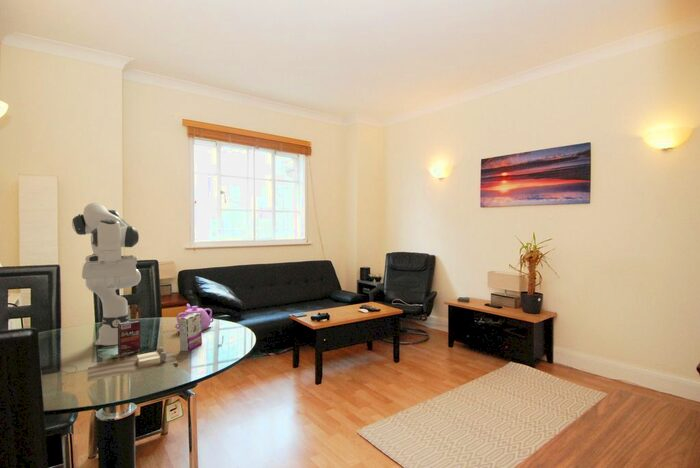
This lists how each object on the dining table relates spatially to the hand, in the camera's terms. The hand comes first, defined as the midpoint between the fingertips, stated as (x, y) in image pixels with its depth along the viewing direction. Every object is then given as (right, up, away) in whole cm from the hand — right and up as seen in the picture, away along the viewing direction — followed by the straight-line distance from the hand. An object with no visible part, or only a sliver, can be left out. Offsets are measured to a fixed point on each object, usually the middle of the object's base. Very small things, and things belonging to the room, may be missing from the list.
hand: (110, 287), depth 161 cm
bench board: (+13, -35, -4) cm, 37 cm away
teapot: (+13, -33, +56) cm, 66 cm away
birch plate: (+18, -33, -1) cm, 37 cm away
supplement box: (+1, -35, +12) cm, 37 cm away
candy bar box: (+27, -34, +21) cm, 48 cm away
